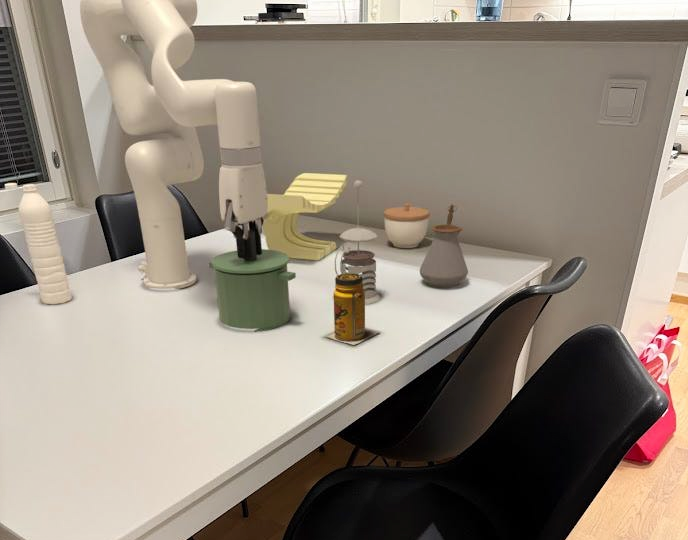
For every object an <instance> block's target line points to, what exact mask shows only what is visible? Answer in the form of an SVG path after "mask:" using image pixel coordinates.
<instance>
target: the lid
mask: <svg viewBox="0 0 688 540" xmlns="http://www.w3.org/2000/svg"><path fill="white" fill-rule="evenodd" d="M248 238H251V248H252V259H243V258H239V257H238V254H237V250H233V251H227V252H224V253H221V254H219V255H217V256H215V257H213V258H212V259H211V262H212V266H213V267H214V268H215V269H217V270H220V271H223V272H229V273H240V274H253V273H262V272H267V271H272V270H276V269H279V268H282V267H284V266H286V265H287V266H288V264H290V258H289V256H288V255H287V254H285V253H283V252H279V251H274V250H269V249H265V248H262V254H261V255H257V253H256V241H255V231H254V230H248Z"/></svg>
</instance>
